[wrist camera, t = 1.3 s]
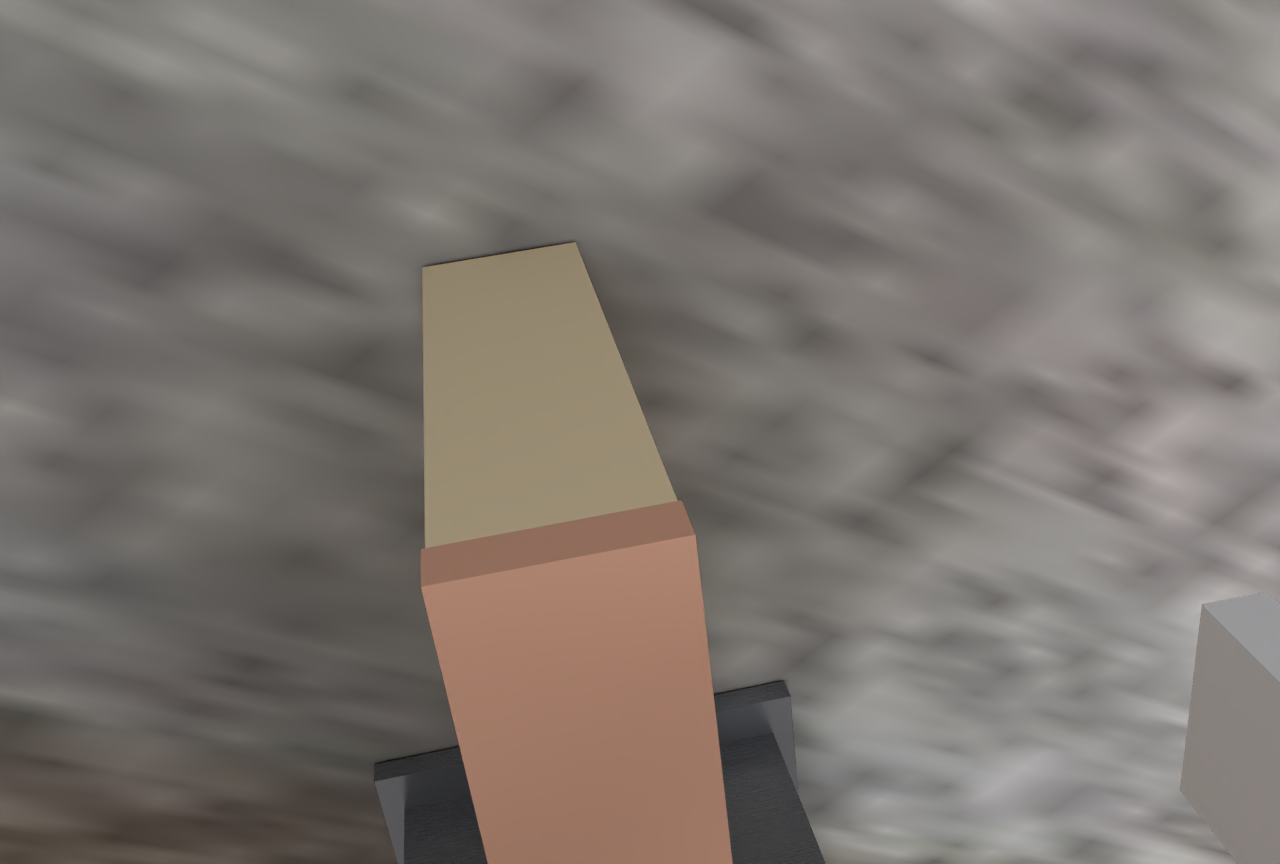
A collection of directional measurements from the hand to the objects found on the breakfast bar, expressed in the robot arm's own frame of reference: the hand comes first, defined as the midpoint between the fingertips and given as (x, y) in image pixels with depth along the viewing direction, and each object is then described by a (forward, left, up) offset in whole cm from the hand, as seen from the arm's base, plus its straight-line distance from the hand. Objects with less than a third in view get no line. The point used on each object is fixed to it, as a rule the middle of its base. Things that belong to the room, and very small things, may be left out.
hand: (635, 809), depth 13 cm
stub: (0, -2, -13) cm, 13 cm away
